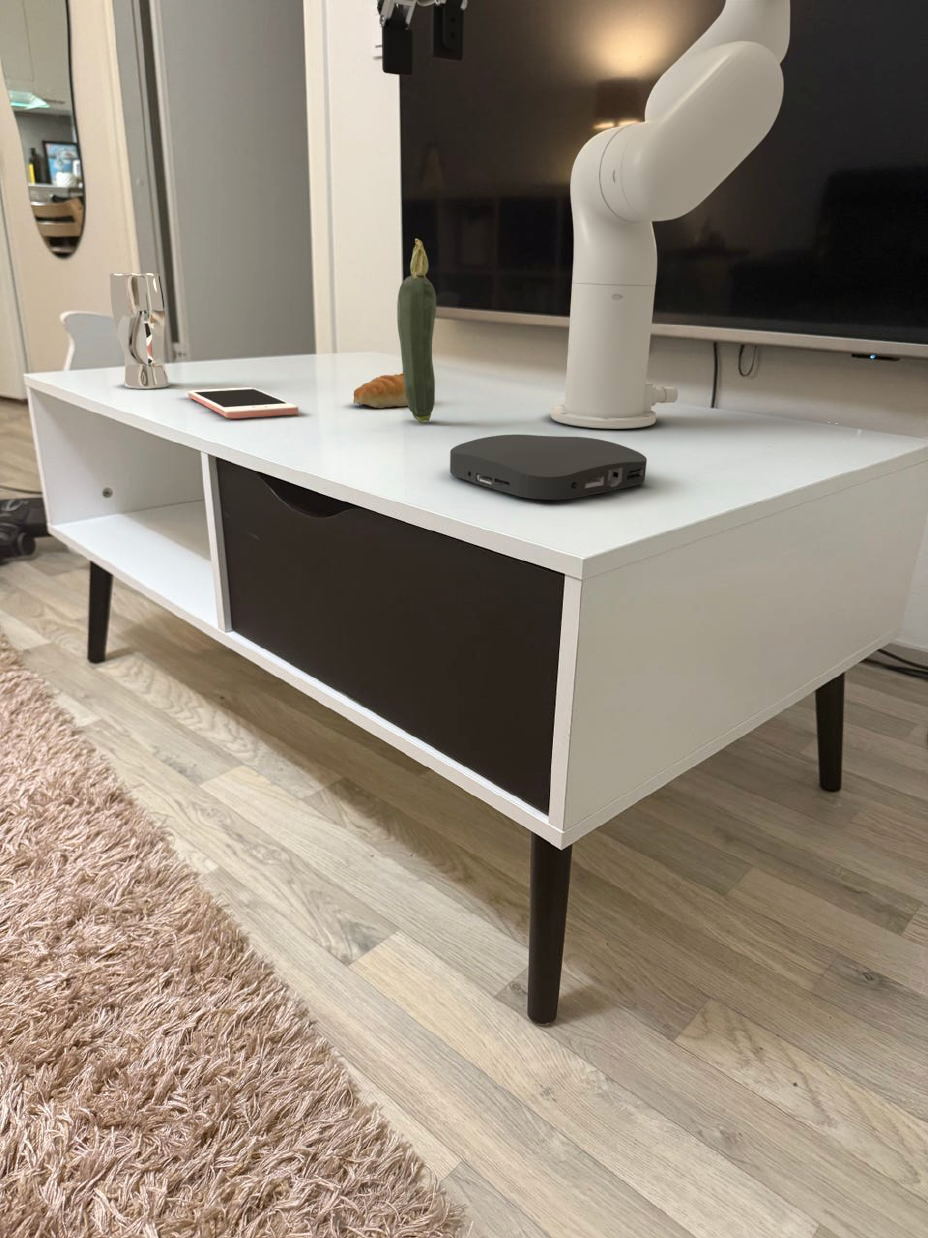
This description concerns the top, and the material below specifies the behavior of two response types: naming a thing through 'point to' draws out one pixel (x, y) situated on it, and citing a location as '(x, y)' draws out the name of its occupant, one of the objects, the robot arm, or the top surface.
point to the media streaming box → (547, 465)
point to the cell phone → (243, 402)
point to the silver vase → (140, 327)
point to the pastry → (382, 392)
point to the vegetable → (417, 335)
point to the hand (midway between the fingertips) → (421, 66)
